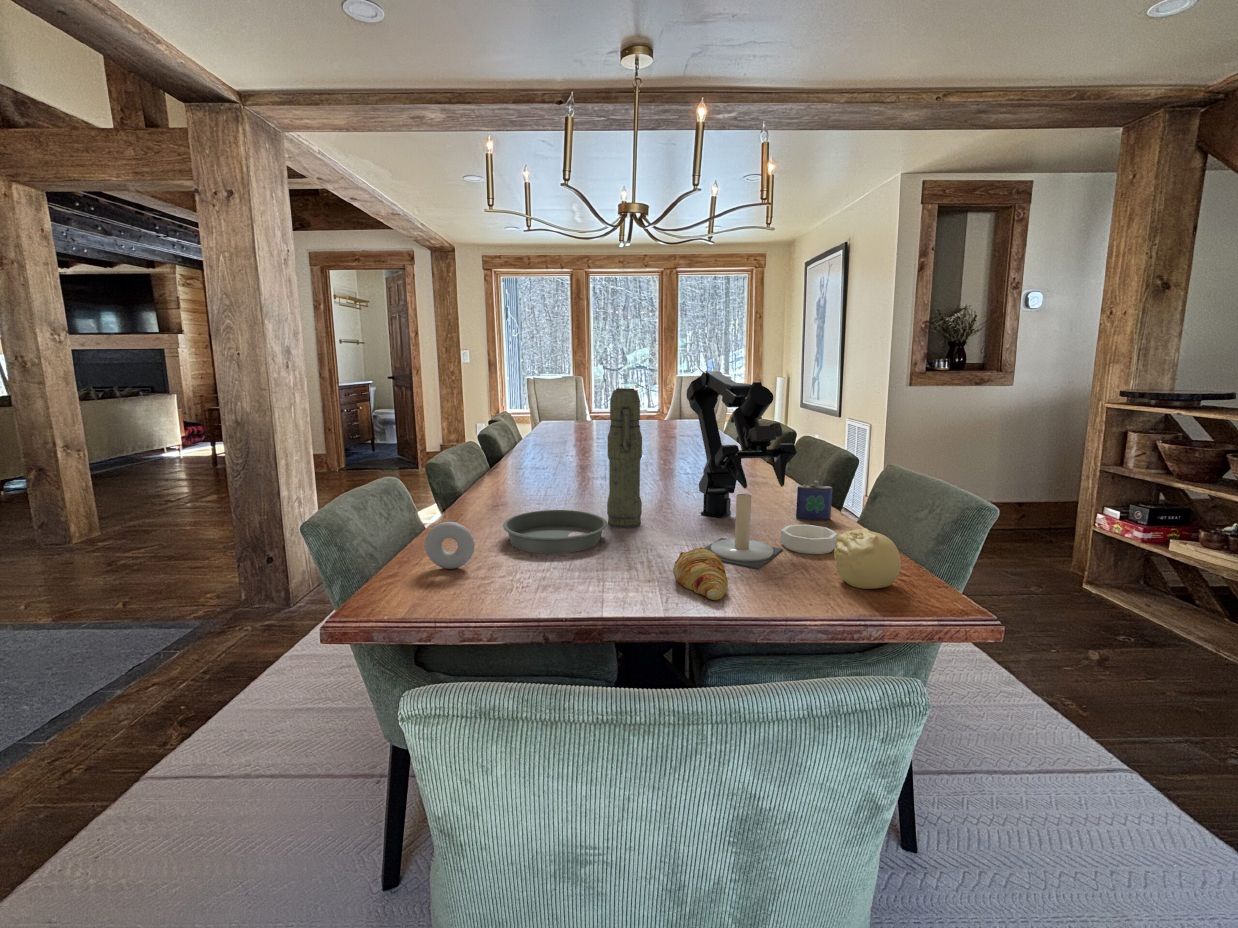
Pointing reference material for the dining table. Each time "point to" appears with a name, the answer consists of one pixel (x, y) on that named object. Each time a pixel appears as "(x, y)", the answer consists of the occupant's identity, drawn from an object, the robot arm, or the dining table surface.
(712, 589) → the croissant
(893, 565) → the sculpture
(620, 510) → the thermos
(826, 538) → the bowl
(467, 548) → the donut
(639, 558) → the dining table surface
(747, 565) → the mat
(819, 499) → the flask
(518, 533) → the cake pan
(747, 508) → the lid
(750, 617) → the dining table surface
